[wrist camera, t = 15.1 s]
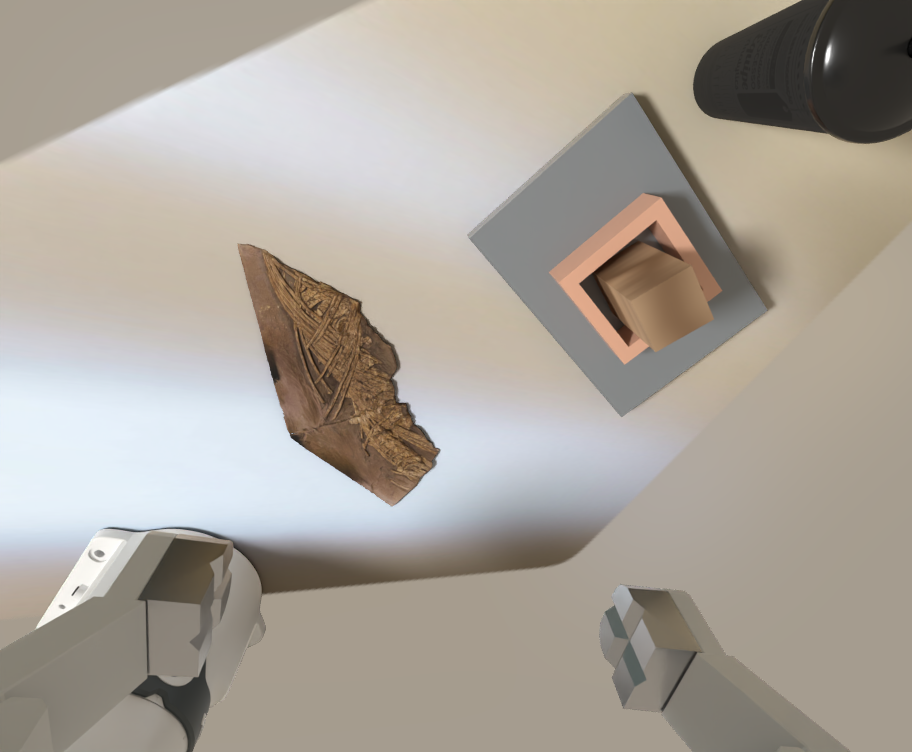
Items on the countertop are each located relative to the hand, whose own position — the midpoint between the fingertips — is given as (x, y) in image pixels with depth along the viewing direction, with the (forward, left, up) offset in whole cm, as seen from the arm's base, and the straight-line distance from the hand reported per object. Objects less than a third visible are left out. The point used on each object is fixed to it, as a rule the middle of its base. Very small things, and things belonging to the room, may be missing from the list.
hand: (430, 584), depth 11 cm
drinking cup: (+24, -5, -31) cm, 40 cm away
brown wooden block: (+11, -11, -30) cm, 33 cm away
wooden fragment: (-12, -3, -32) cm, 34 cm away
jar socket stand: (+11, -11, -31) cm, 35 cm away
